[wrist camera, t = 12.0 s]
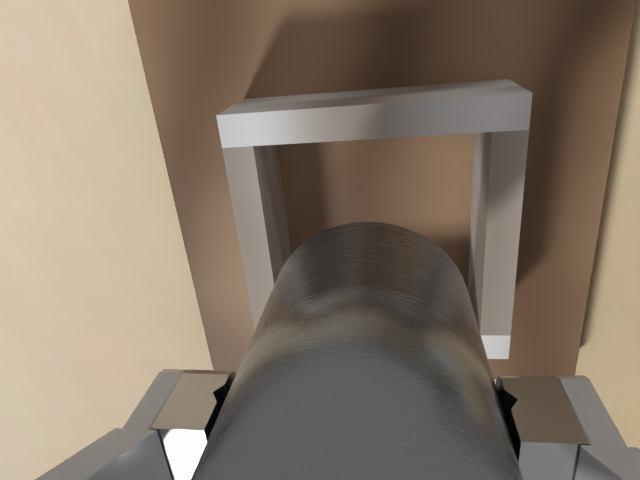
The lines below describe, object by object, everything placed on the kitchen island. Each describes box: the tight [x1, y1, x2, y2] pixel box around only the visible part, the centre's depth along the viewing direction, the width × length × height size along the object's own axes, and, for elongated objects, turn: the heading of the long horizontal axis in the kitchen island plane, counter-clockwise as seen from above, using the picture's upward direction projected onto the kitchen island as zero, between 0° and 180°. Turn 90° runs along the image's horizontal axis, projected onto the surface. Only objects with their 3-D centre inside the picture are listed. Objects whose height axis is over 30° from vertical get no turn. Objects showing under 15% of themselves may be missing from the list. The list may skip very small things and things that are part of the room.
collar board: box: [128, 0, 637, 379], centre depth 17 cm, size 16×16×4 cm
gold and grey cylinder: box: [191, 222, 523, 480], centre depth 8 cm, size 5×5×9 cm
